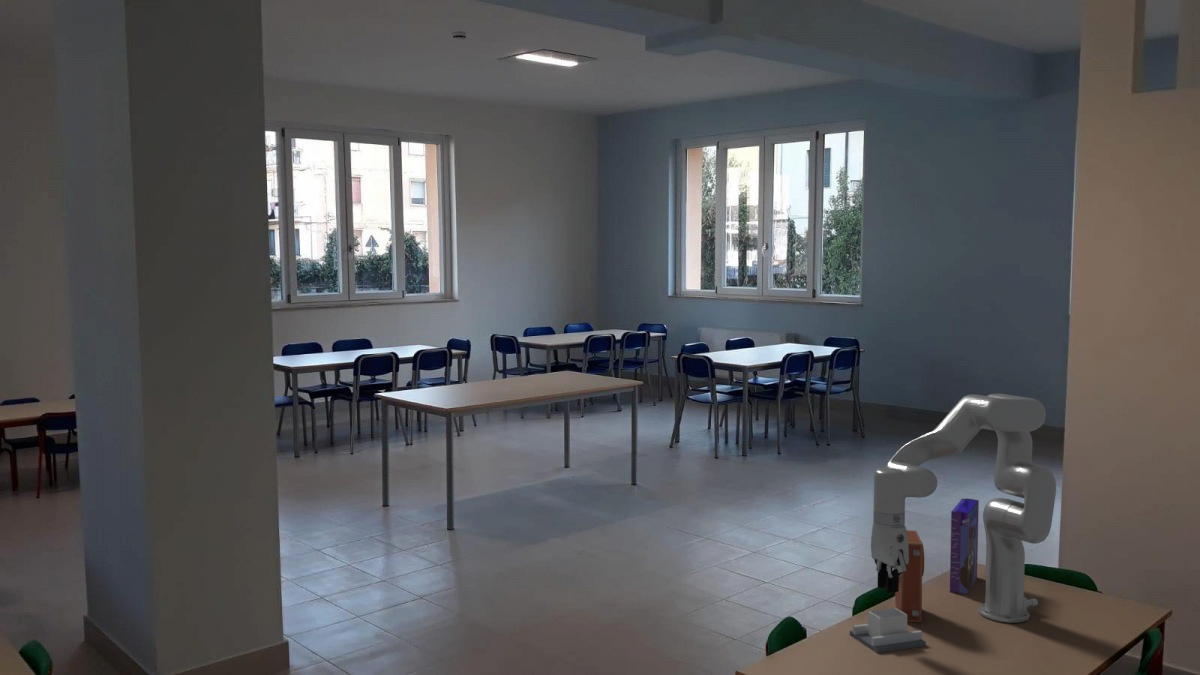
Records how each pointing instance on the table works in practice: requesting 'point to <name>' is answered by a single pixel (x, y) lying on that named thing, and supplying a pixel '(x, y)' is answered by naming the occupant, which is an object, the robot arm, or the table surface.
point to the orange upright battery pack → (912, 580)
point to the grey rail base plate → (887, 639)
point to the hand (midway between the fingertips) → (887, 589)
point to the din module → (886, 622)
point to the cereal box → (964, 546)
